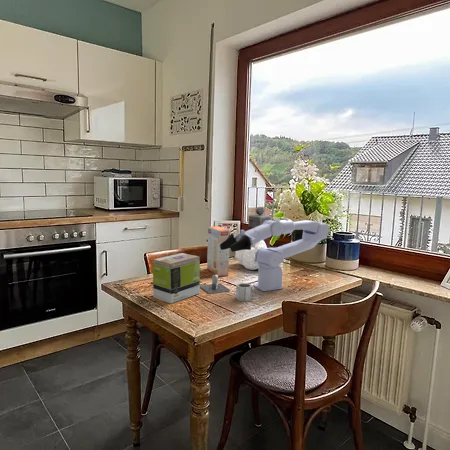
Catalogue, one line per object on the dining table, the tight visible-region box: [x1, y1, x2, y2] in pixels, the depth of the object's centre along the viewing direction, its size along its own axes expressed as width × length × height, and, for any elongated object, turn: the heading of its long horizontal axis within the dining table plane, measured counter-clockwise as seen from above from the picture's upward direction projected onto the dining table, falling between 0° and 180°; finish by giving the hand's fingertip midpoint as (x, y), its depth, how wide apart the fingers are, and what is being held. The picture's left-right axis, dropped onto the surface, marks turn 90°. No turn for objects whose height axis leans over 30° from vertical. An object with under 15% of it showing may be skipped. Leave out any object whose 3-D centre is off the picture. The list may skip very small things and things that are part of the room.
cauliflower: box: [234, 240, 267, 271], centre depth 178 cm, size 20×18×16 cm
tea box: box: [152, 252, 201, 304], centre depth 133 cm, size 15×10×15 cm, turn 141°
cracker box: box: [206, 225, 231, 277], centre depth 166 cm, size 14×6×21 cm, turn 22°
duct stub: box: [200, 274, 231, 295], centre depth 143 cm, size 9×9×6 cm
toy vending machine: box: [247, 206, 272, 248], centre depth 201 cm, size 9×11×28 cm
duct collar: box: [235, 282, 253, 302], centre depth 133 cm, size 6×6×5 cm
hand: (225, 248), depth 133 cm, fingers open, 7 cm apart
